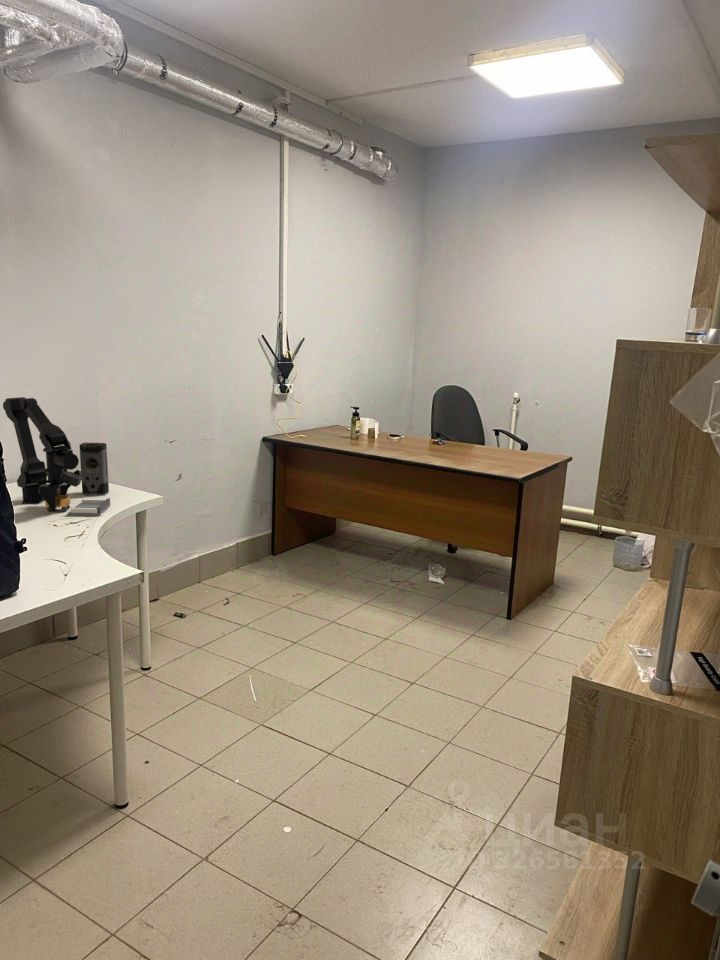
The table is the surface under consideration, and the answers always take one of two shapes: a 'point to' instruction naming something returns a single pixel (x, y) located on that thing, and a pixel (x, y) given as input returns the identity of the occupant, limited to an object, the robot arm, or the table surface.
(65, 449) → the robot arm
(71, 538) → the table surface
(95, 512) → the dock
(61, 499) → the trolley
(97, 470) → the electronic device
